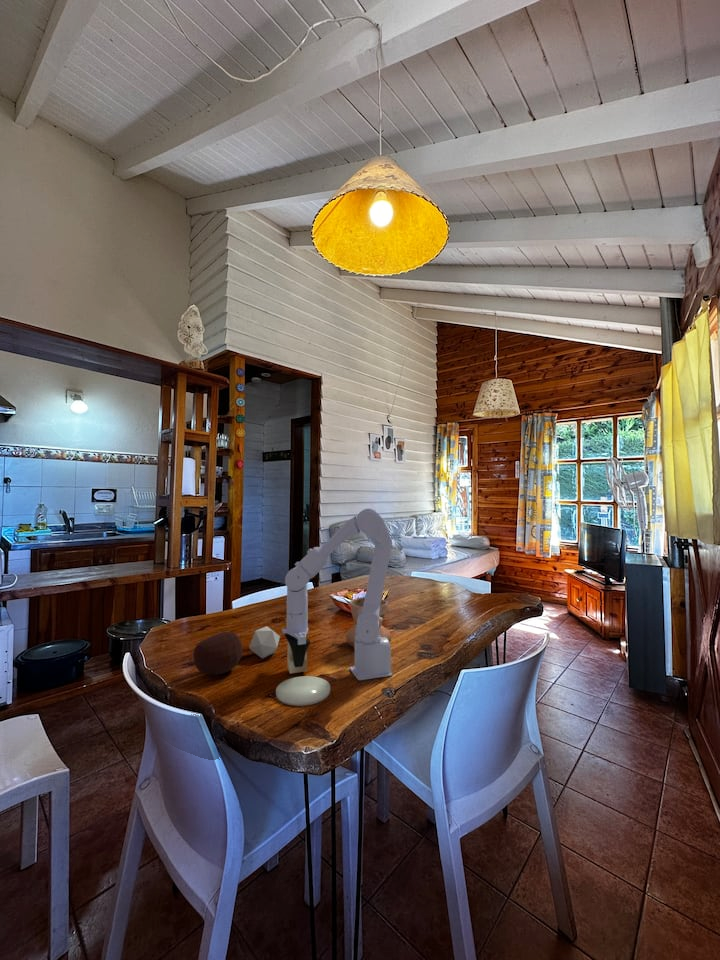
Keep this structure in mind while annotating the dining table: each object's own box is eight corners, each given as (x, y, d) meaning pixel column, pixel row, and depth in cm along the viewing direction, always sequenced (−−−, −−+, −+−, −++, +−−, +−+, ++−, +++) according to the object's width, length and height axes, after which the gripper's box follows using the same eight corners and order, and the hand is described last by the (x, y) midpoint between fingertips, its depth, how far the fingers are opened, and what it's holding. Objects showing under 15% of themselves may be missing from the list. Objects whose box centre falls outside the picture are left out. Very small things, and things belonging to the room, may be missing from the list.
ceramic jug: (401, 652, 122) (401, 605, 123) (357, 659, 117) (357, 610, 117) (376, 634, 139) (376, 593, 139) (337, 639, 133) (337, 596, 134)
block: (303, 664, 111) (303, 639, 112) (306, 671, 107) (306, 644, 107) (287, 666, 110) (287, 640, 110) (289, 673, 105) (290, 646, 106)
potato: (185, 675, 106) (186, 635, 107) (230, 660, 116) (231, 624, 117) (204, 688, 99) (205, 645, 99) (251, 671, 108) (252, 632, 109)
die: (282, 659, 118) (286, 627, 124) (261, 652, 113) (266, 618, 119) (263, 664, 122) (267, 632, 128) (241, 657, 116) (247, 624, 123)
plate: (323, 677, 105) (323, 673, 105) (336, 700, 93) (336, 696, 93) (272, 684, 101) (272, 680, 101) (279, 709, 88) (280, 705, 89)
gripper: (278, 606, 115) (278, 654, 114) (286, 620, 101) (286, 675, 100) (303, 604, 117) (303, 651, 116) (313, 618, 103) (313, 671, 103)
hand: (296, 662), depth 108 cm, fingers closed on block, 4 cm apart
